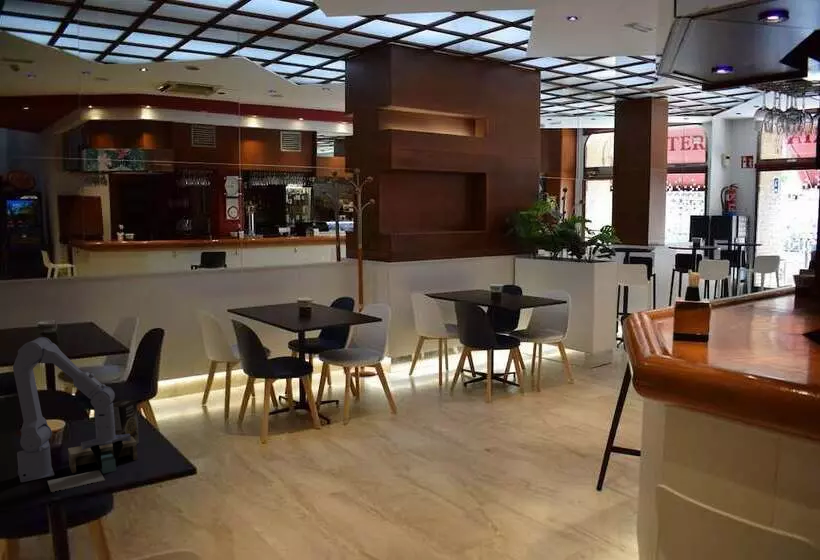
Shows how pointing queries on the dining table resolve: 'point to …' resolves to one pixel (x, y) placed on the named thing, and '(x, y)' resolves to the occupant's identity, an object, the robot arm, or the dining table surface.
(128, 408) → the coffee box
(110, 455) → the block
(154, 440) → the dining table surface
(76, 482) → the mat
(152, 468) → the dining table surface
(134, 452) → the shelf
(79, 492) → the dining table surface
